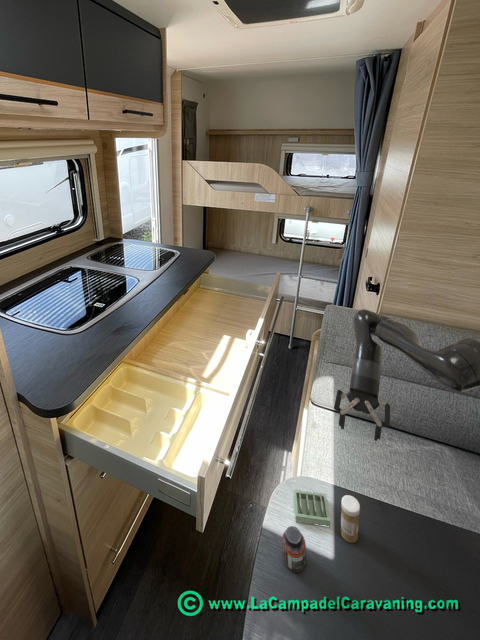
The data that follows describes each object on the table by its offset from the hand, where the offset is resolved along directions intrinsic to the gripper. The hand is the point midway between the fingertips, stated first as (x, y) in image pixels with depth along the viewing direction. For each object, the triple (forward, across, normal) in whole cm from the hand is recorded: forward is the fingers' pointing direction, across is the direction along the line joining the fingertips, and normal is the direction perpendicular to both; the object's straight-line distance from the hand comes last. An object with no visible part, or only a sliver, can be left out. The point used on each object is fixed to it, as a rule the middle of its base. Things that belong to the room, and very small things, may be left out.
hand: (358, 434), depth 92 cm
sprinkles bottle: (+27, 0, +11) cm, 29 cm away
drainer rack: (+26, -11, +12) cm, 30 cm away
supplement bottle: (+36, -12, +2) cm, 38 cm away
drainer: (+26, -11, +12) cm, 30 cm away
